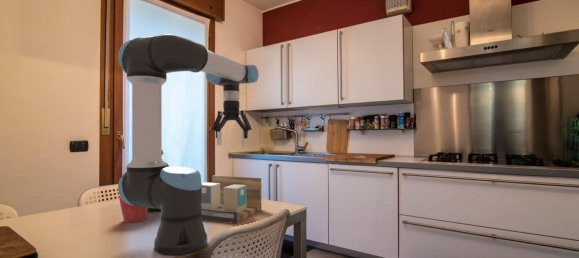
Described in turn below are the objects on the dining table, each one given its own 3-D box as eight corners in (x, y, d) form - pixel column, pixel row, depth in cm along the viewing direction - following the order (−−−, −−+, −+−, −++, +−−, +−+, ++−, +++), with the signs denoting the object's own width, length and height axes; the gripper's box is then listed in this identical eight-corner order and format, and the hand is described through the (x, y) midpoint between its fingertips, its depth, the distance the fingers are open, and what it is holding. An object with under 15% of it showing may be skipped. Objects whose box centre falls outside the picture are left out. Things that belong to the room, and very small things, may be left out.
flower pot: (112, 221, 116) (113, 196, 116) (138, 214, 126) (138, 191, 126) (130, 225, 111) (130, 199, 111) (155, 218, 121) (155, 193, 121)
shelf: (236, 223, 113) (235, 186, 113) (182, 216, 122) (182, 182, 122) (261, 209, 133) (261, 178, 133) (213, 204, 142) (213, 175, 142)
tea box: (237, 213, 119) (237, 188, 119) (223, 212, 121) (223, 187, 121) (247, 209, 126) (247, 185, 126) (234, 207, 129) (234, 184, 129)
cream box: (211, 209, 125) (211, 185, 125) (195, 208, 128) (195, 184, 128) (220, 206, 131) (220, 183, 131) (205, 204, 134) (205, 182, 134)
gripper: (258, 100, 141) (258, 145, 141) (214, 102, 150) (214, 144, 150) (250, 98, 134) (250, 146, 134) (204, 100, 143) (204, 145, 143)
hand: (231, 145), depth 142 cm, fingers open, 13 cm apart
